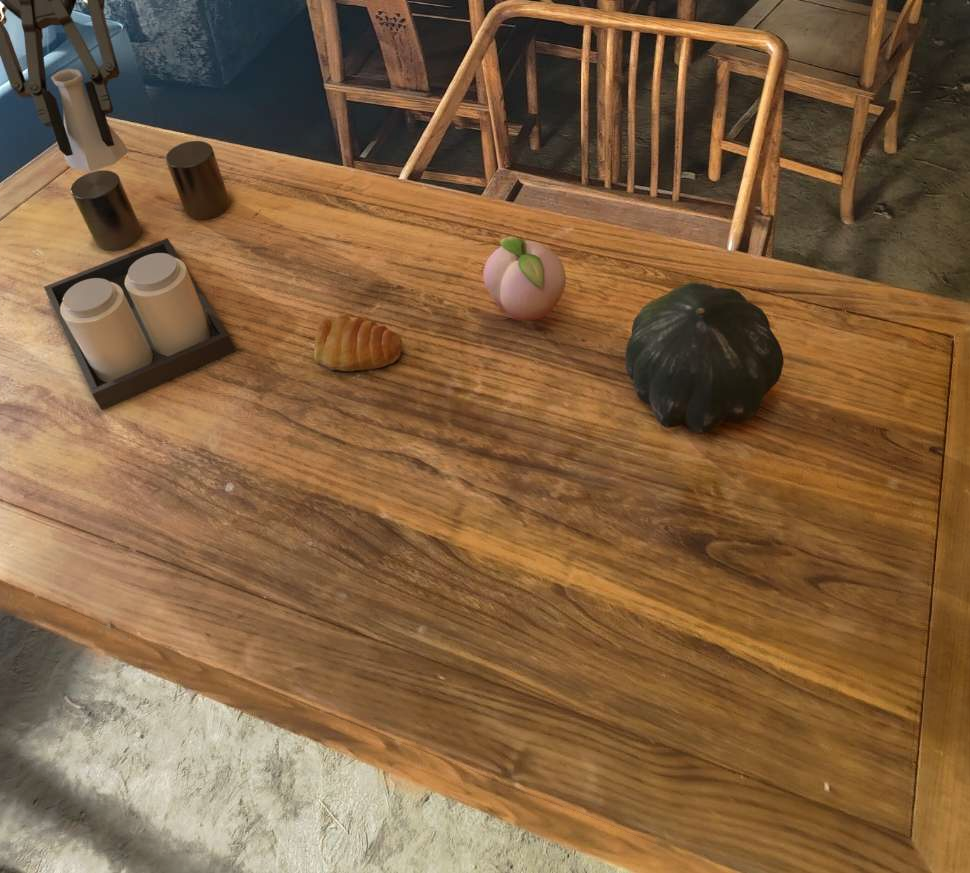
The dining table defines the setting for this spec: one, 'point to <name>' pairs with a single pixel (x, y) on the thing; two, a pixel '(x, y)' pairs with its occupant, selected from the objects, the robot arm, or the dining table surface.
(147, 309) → the white shaker
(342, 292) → the dining table surface
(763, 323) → the squash
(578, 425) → the dining table surface
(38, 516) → the dining table surface
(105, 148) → the flask
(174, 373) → the black tray
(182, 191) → the dark brown cylinder
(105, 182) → the dark brown cylinder
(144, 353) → the cylinder
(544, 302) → the decorative fruit
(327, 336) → the pastry
